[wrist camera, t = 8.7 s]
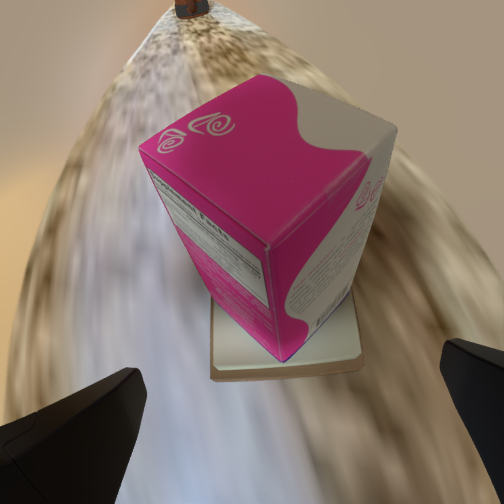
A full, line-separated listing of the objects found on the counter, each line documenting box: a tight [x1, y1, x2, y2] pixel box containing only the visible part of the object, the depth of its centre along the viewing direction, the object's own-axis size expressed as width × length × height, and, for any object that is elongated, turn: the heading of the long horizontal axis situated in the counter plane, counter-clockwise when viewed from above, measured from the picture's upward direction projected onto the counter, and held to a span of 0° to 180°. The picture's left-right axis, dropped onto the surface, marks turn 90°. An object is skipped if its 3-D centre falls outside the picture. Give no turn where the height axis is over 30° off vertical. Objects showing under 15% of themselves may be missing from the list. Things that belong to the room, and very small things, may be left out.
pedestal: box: [210, 285, 365, 382], centre depth 19 cm, size 9×9×3 cm
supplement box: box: [138, 73, 397, 363], centre depth 13 cm, size 6×6×12 cm
